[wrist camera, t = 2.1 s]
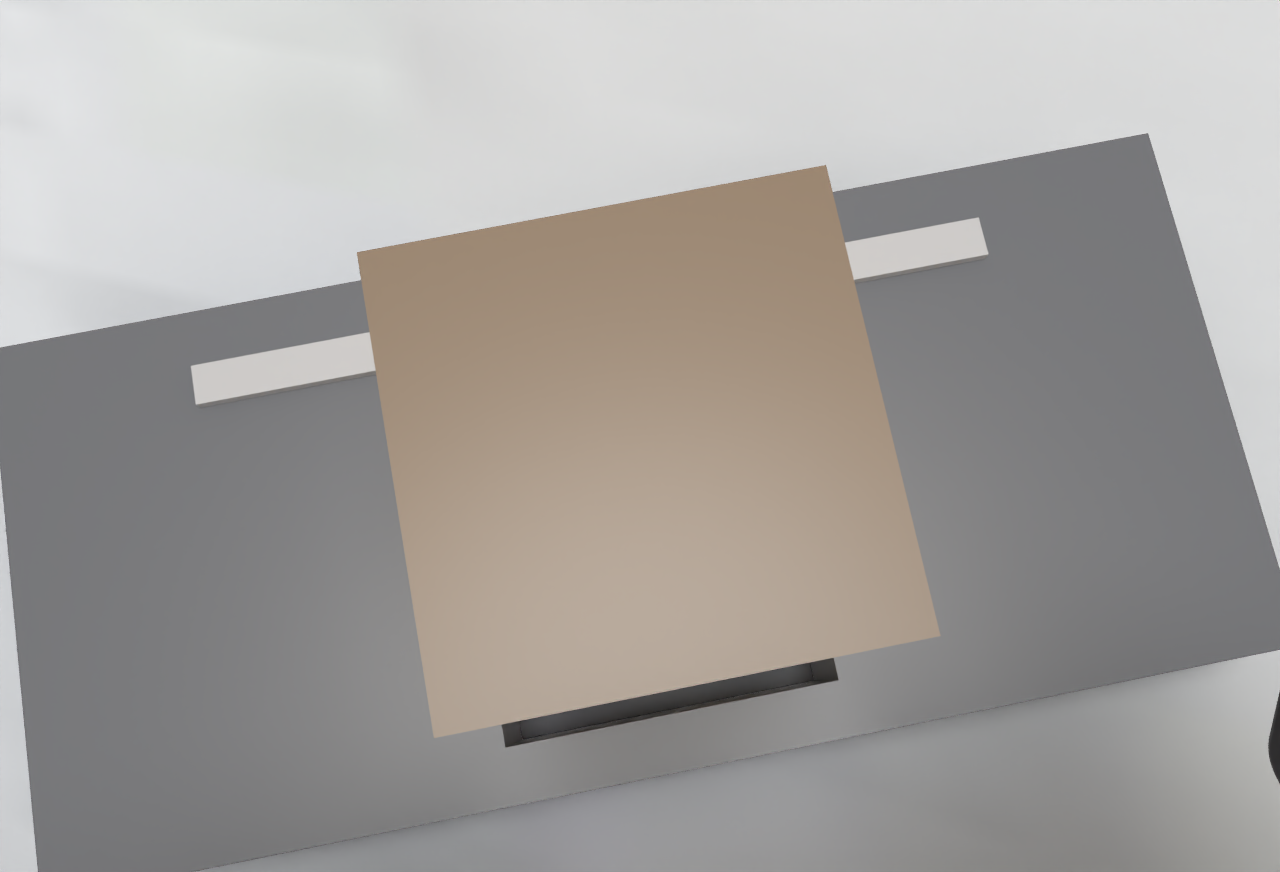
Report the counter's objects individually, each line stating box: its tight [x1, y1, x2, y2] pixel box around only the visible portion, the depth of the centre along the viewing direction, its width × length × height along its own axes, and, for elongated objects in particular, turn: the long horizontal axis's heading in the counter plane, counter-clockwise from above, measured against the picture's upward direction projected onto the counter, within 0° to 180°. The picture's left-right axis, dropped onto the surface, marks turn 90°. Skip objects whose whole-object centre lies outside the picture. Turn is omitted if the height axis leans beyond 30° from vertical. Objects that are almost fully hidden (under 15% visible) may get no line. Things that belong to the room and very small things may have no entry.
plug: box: [357, 165, 941, 738], centre depth 15 cm, size 4×4×10 cm
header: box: [0, 133, 1280, 872], centre depth 19 cm, size 8×18×3 cm, turn 101°
